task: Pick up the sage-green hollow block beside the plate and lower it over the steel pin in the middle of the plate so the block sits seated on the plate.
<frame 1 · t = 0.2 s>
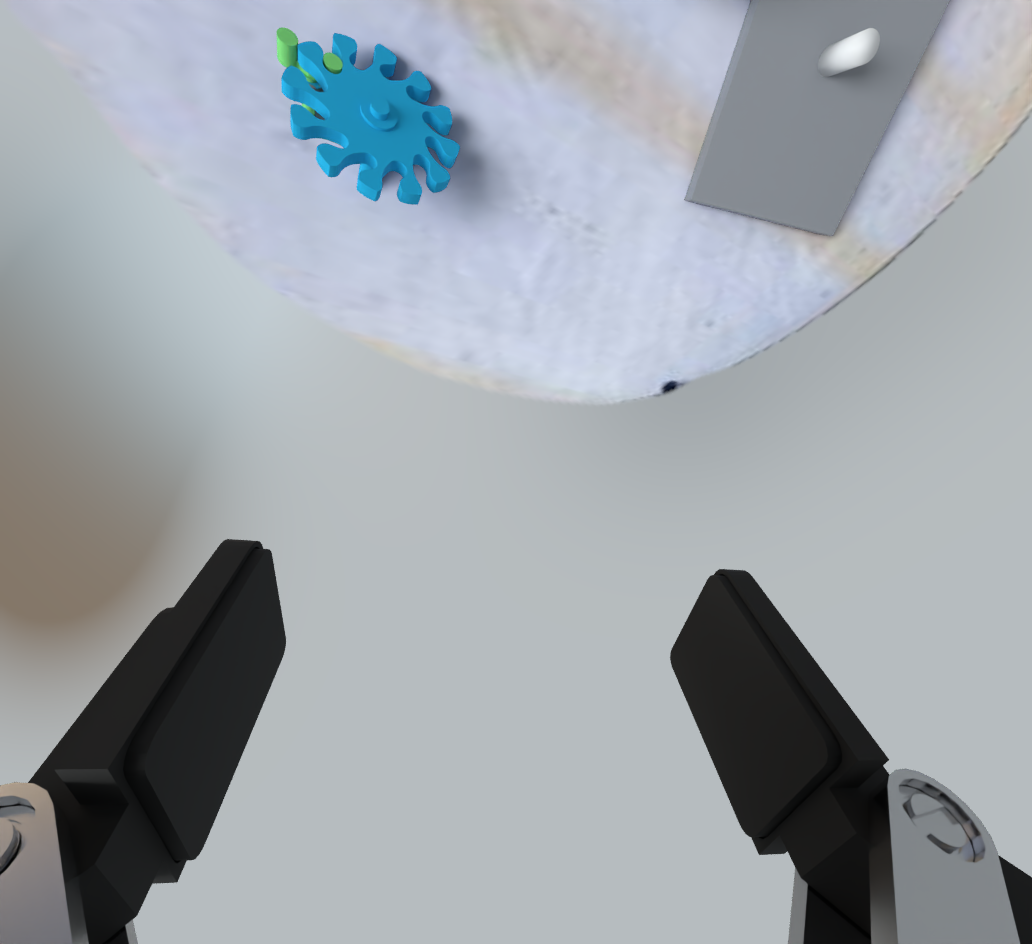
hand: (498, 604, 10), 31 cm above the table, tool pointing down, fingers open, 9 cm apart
gear: (380, 125, 29), on the table
pin plate: (818, 65, 29), on the table
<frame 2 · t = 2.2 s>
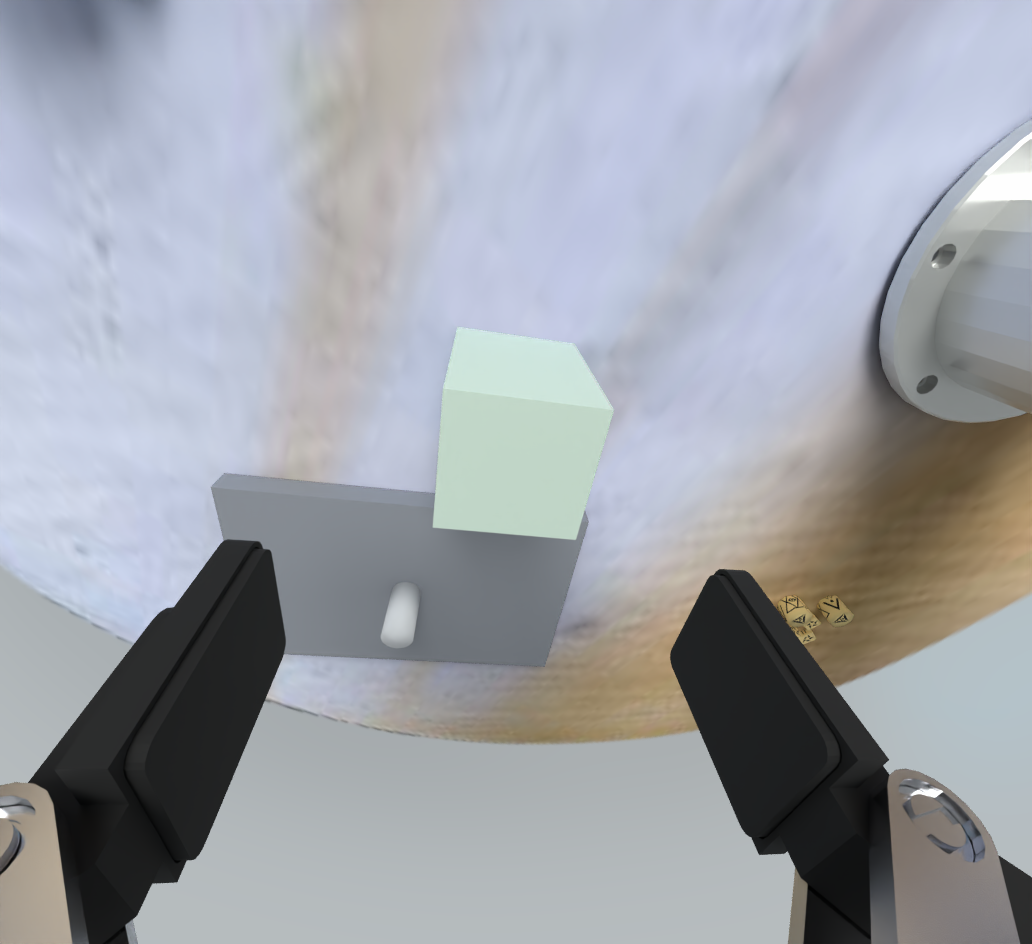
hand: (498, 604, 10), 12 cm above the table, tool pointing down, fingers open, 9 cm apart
dice set: (786, 606, 30), on the table
pin plate: (409, 576, 26), on the table
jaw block: (508, 390, 20), on the table
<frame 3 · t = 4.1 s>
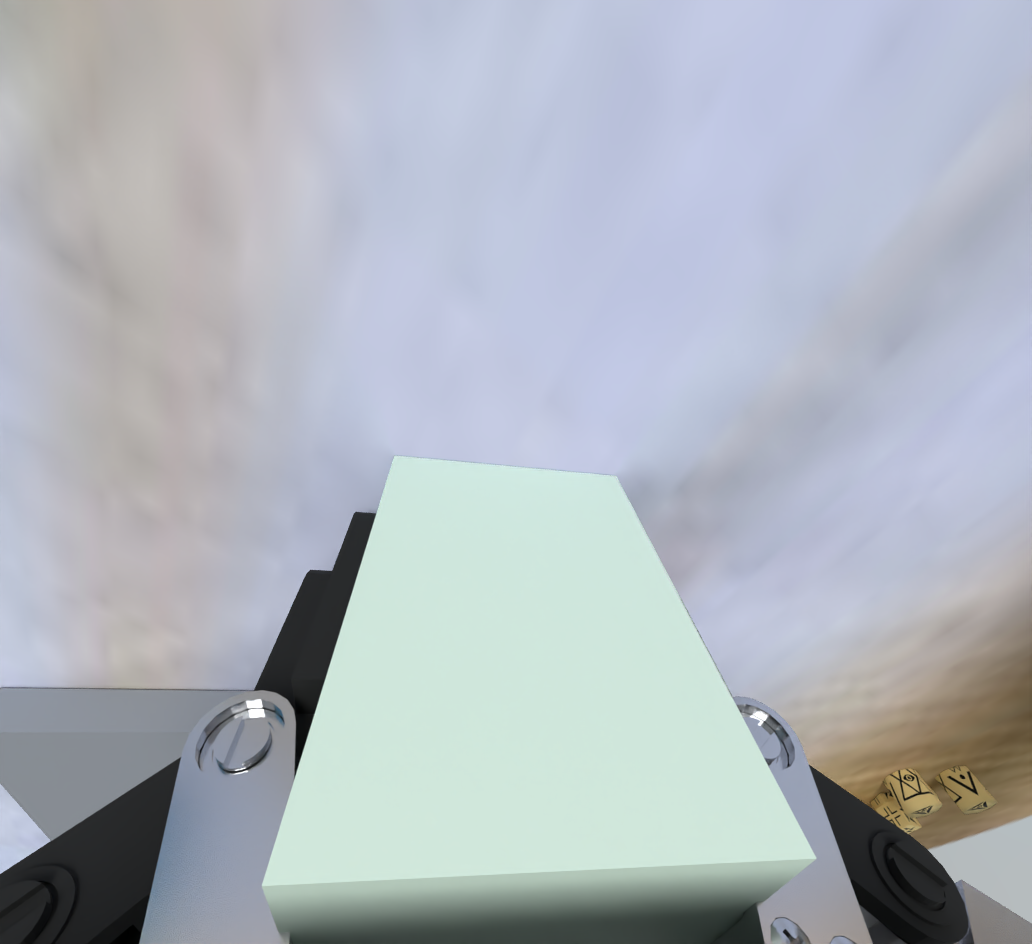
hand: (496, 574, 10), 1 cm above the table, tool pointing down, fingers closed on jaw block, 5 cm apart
dice set: (887, 770, 22), on the table
pin plate: (347, 787, 17), on the table
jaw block: (494, 551, 11), on the table, touching gripper
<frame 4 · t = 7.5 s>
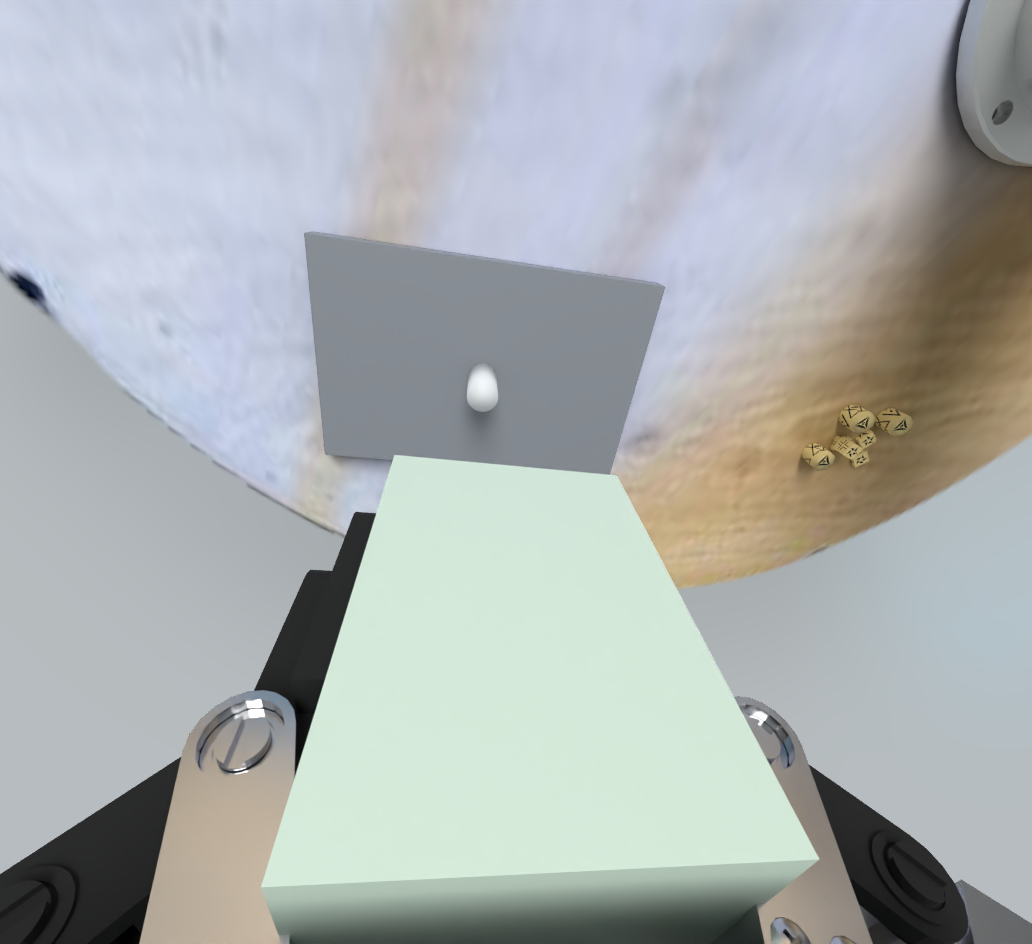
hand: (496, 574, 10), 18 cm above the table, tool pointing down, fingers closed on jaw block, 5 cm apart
dice set: (842, 427, 31), on the table
pin plate: (482, 369, 26), on the table
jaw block: (495, 550, 11), point 17 cm above the table, touching gripper
when the fingers open (3 cm above the table, at t = 10.7 s): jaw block stays where it is, resting on pin plate.
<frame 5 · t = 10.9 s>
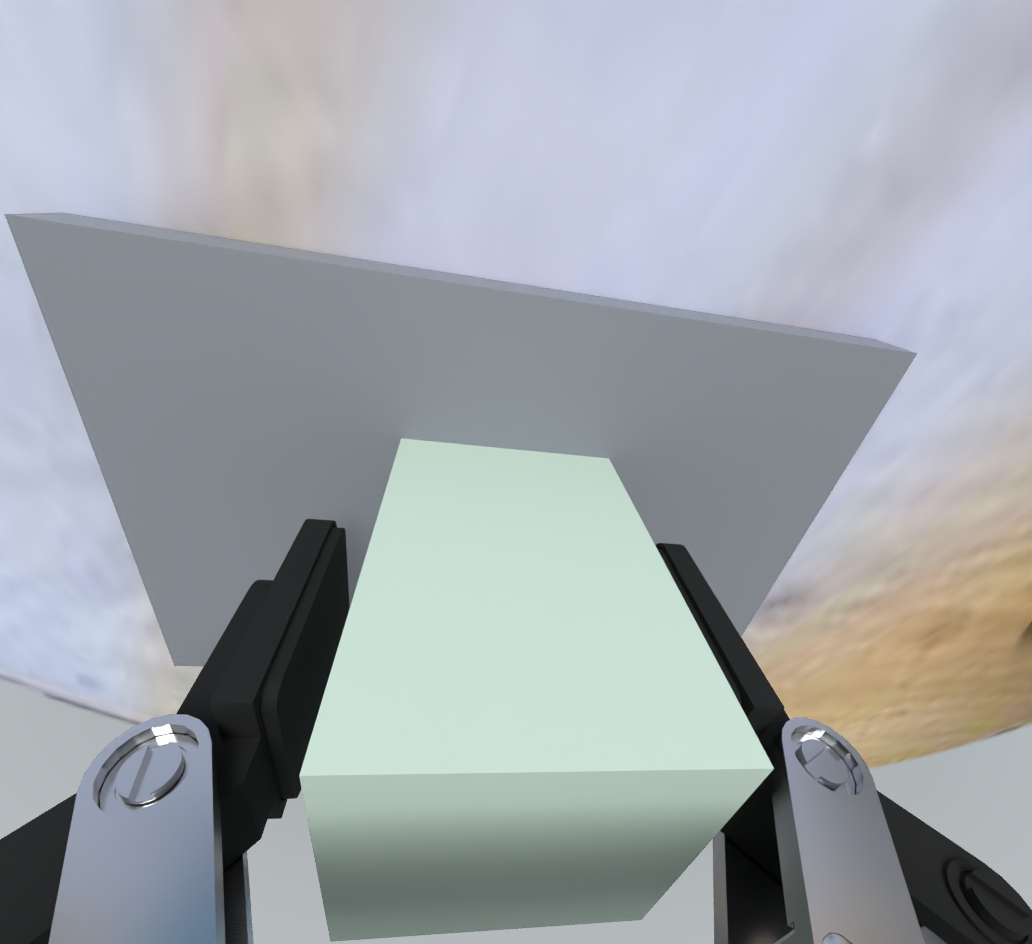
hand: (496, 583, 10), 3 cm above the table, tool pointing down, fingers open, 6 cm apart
pin plate: (491, 505, 13), on the table
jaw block: (495, 531, 12), point 1 cm above the table, touching pin plate
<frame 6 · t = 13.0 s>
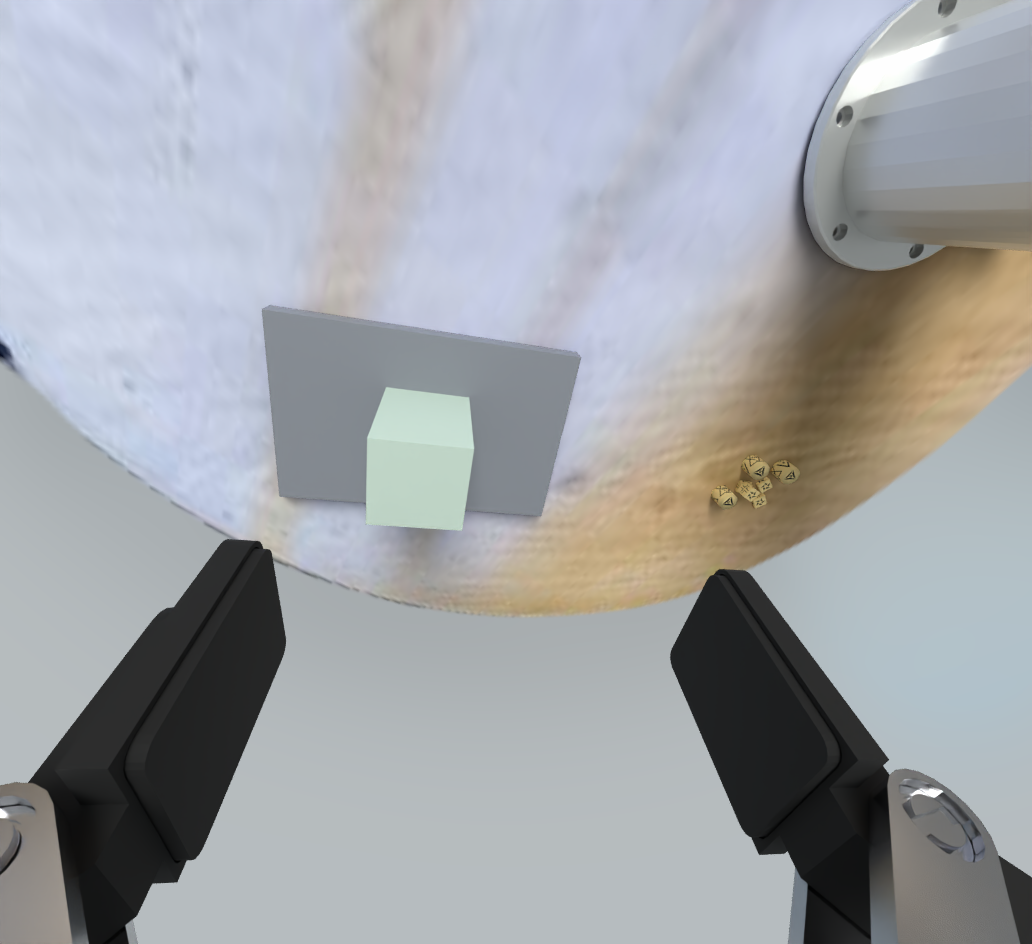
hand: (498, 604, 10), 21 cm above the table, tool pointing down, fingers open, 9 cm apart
dice set: (746, 473, 36), on the table
pin plate: (425, 422, 29), on the table
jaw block: (425, 429, 28), point 1 cm above the table, touching pin plate
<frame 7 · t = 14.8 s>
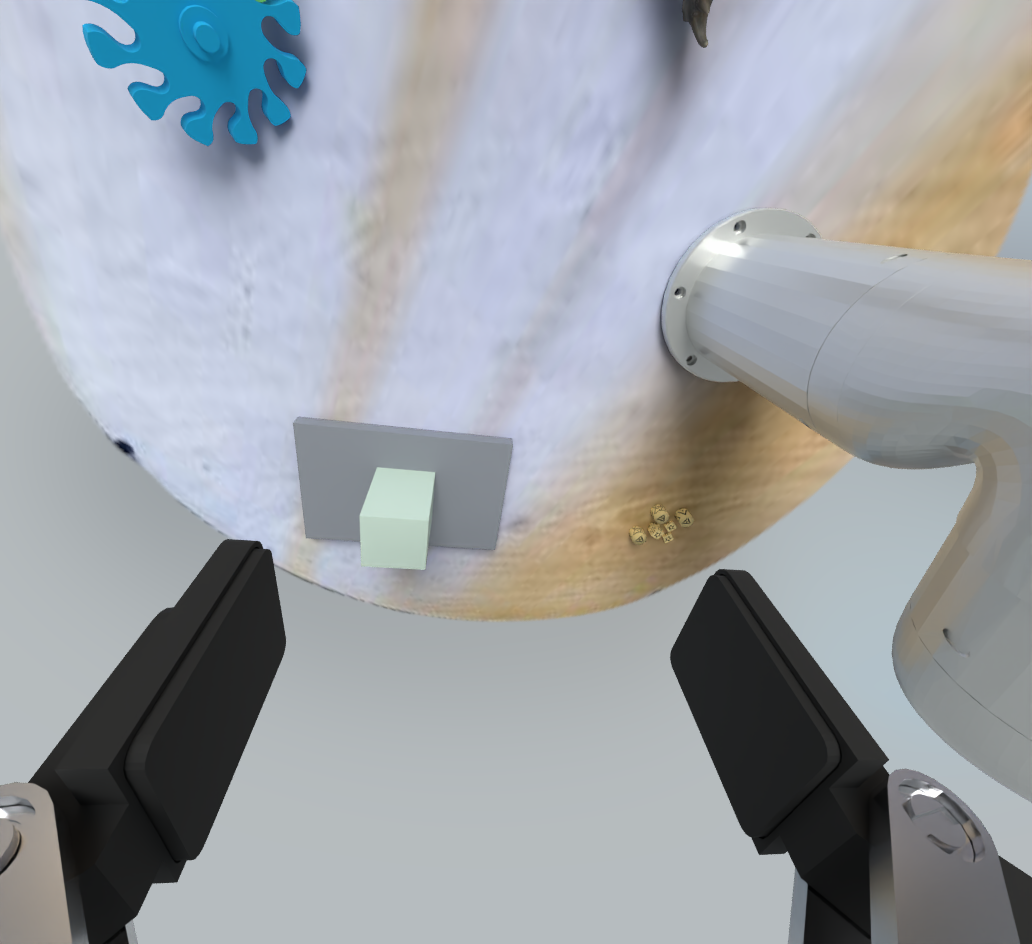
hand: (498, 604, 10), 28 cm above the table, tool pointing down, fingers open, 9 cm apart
gear: (241, 43, 25), on the table
dice set: (657, 516, 47), on the table
pin plate: (406, 486, 41), on the table
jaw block: (405, 493, 40), point 1 cm above the table, touching pin plate
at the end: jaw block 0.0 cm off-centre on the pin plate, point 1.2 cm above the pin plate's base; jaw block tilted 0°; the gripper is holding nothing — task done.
